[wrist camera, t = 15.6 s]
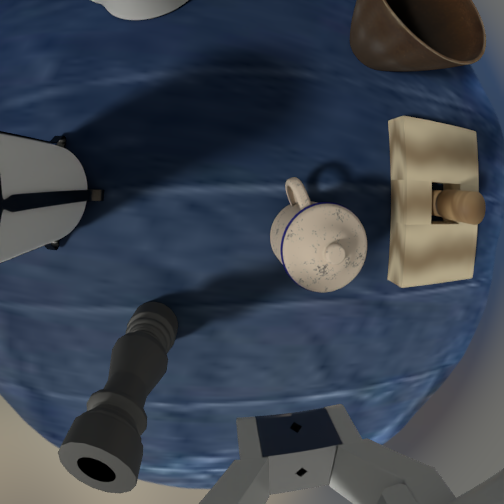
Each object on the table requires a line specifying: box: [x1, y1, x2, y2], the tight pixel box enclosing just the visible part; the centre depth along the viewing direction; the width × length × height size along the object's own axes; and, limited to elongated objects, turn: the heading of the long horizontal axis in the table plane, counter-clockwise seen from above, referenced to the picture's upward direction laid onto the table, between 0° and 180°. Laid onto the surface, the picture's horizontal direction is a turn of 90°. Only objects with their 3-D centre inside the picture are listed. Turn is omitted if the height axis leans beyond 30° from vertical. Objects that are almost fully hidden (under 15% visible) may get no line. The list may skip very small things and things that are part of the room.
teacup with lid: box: [270, 177, 367, 292], centre depth 33 cm, size 12×9×12 cm
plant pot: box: [350, 0, 486, 71], centre depth 26 cm, size 15×15×16 cm
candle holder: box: [58, 302, 178, 493], centre depth 27 cm, size 6×6×25 cm
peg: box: [431, 190, 485, 225], centre depth 35 cm, size 4×4×10 cm
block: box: [388, 116, 479, 288], centre depth 37 cm, size 22×14×4 cm, turn 2°
